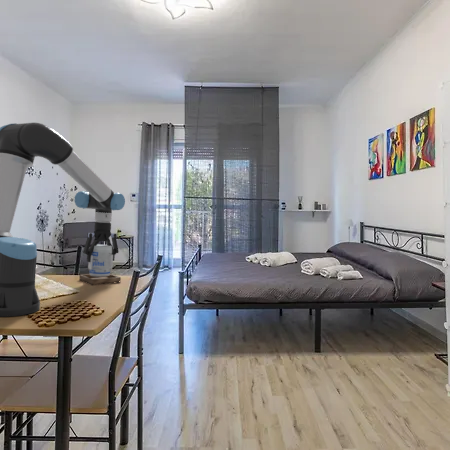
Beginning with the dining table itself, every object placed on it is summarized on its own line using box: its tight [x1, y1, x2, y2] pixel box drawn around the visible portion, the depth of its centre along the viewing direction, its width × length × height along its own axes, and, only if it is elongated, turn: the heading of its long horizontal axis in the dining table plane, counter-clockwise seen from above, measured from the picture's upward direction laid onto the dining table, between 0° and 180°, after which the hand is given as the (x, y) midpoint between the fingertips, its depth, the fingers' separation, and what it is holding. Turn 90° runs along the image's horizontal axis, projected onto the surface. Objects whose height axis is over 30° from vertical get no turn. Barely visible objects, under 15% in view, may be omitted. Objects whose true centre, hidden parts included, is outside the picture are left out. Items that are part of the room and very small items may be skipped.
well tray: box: [78, 273, 122, 286], centre depth 169 cm, size 14×14×2 cm
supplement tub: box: [88, 244, 113, 277], centre depth 168 cm, size 10×10×15 cm
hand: (100, 268), depth 169 cm, fingers closed on supplement tub, 9 cm apart
